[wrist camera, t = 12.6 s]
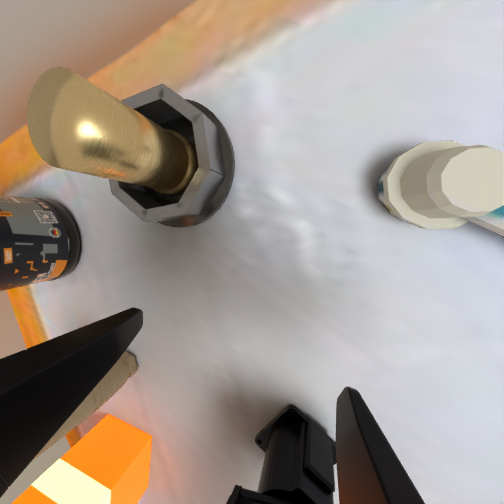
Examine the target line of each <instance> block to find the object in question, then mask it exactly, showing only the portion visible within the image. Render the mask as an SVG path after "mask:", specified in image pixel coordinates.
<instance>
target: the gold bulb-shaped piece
mask: <svg viewBox="0 0 504 504" xmlns="http://www.w3.org/2000/svg"><path fill="white" fill-rule="evenodd" d="M27 119H28V128H29V133H30V137H31V140H32V142H33V145H34V147H35V149H36V151H37V152H38V154H39V155H40V156H41V157H42V159H43V160H45V161H46V162H47V163H48V164H50V165H52V166H54V167H57V168H61V169H66V170H71V171H76V172H80V173H85V174H90V175H94V176H99V177H104V178H108V179H113V180H118V181H122V182H127V183H132V184H136V185H141V186H146V187H150V188H152V189H153V190H155V191H157V192H159V193H163V194H168V195H175V196H176V195H182V194H184V192H185V190H186V189H187V187H188V185H189V184H190V182H191V180H192V178H193V177H194V175H195V173H196V171H197V170H198V168H199V163H198V157H197V151H196V147H195V146H194V145H193V144H192V143H191V142H190V141H189V140H188V139H186V138H185V137H183V136H182V135H180V134H179V133H177V132H175V131H172V130H166V129H164V128H162V127H161V126H159V125H158V124H156V123H154V122H153V121H151V120H150V119H148V118H146V117H145V116H143V115H142V114H140V113H138V112H137V111H135V110H134V109H132V108H130V107H129V106H127V105H126V104H124V103H122V102H121V101H119V100H118V99H116V98H114V97H113V96H111V95H110V94H108V93H106V92H105V91H103V90H102V89H100V88H98V87H97V86H95V85H94V84H92V83H90V82H89V81H87V80H86V79H84V78H82V77H81V76H79V75H77V74H76V73H74V72H73V71H71V70H69V69H66V68H62V67H56V68H52V69H49V70H48V71H46V72H45V73H43V74H42V75H41V76H40V77H39V79H38V80H37V81H36V83H35V85H34V87H33V89H32V91H31V94H30V98H29V102H28V111H27Z"/></svg>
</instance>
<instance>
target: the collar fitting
mask: <svg viewBox="0 0 504 504" xmlns="http://www.w3.org/2000/svg"><path fill="white" fill-rule="evenodd" d="M121 102H122V103H124V104H126V105H127V106H129V107H130V108H132V109H134V110H135V111H137V112H138V113H140V114H142V115H143V116H145V117H146V118H148V119H150V120H151V121H153V122H154V123H156V124H158V125H159V126H161V127H162V128H164V129H166V130H172V131H175V132H177V133H179V134H180V135H182V136H183V137H185V138H186V139H188V140H189V141H190V142H191V143H192V144H193V145H194V146H195V147H196V151H197V157H198V163H199V168H198V170H197V171H196V173H195V175H194V177H193V178H192V180H191V182H190V184H189V185H188V187H187V189H186V190H185V192H184V194H182V195H176V196H175V195H168V194H163V193H159V192H157V191H155V190H153V189H152V188H150V187H146V186H141V185H136V184H132V183H127V182H122V181H118V180H113V179H109V182H110V187H111V192H112V194H113V195H114V196H115V197H116V198H117V199H119V200H120V201H121V202H122V203H123V204H124V205H125V206H127V207H128V208H129V209H130V210H131V211H132V212H133V213H135V214H136V215H137V216H138V217H139V218H140V219H142V220H143V221H157V222H159V223H161V224H164V225H167V226H172V227H187V226H193V225H196V224H199V223H201V222H203V221H205V220H207V219H208V218H210V217H211V216H212V215H213V214H214V213H215V212H216V211H217V210H218V209H219V208H220V207H221V205H222V204H223V203H224V201H225V199H226V197H227V196H228V193H229V191H230V188H231V185H232V181H233V176H234V165H235V161H234V152H233V147H232V143H231V140H230V137H229V135H228V133H227V131H226V129H225V128H224V126H223V125H222V123H221V122H220V121H219V120H218V118H217V117H216V116H215V115H214V114H213V113H212V112H211V111H210V110H208V109H207V108H206V107H204V106H203V105H201V104H199V103H197V102H194V101H191V100H187V99H183V98H182V97H181V96H179V95H178V94H177V93H175V92H174V91H172V90H171V89H170V88H168V87H167V86H166V85H164V84H160V85H158V86H155V87H153V88H151V89H148V90H146V91H143V92H141V93H138V94H136V95H133V96H131V97H129V98H126V99H124V100H122V101H121Z"/></svg>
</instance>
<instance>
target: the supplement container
mask: <svg viewBox="0 0 504 504" xmlns="http://www.w3.org/2000/svg"><path fill="white" fill-rule="evenodd" d="M79 252H80V239H79V234H78V230H77V228H76V225H75V223H74V221H73V219H72V218H71V216H70V215H69V214H68V212H67V211H66V210H65V209H64V208H63V207H61V206H60V205H59V204H57V203H55V202H53V201H50V200H47V199H42V198H23V197H11V196H0V291H2V290H7V289H12V288H17V287H21V286H26V285H30V284H35V283H40V282H44V281H51V280H56V279H60V278H62V277H64V276H66V275H67V274H69V273H70V272H71V271H72V269H73V268H74V267H75V265H76V263H77V260H78V257H79Z"/></svg>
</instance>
